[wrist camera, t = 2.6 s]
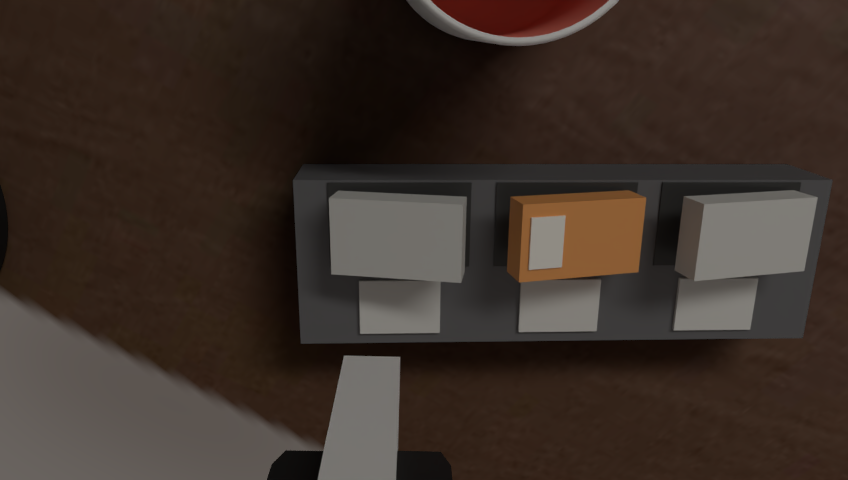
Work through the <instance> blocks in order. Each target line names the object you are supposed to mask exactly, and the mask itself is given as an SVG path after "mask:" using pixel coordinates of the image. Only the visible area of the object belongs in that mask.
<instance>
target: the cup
mask: <svg viewBox="0 0 848 480" xmlns="http://www.w3.org/2000/svg"><path fill="white" fill-rule="evenodd" d="M406 1H407V2H408V3H409V5H410V6H411V7H412V8H413V9H414V10H415V11H416V12H417V13H418V14H419V15H420V16H421V17H422V18H423V19H425V20H426V21H427V22H429V23H430V24H431V25H433V26H435V27H436V28H438V29H440V30H442V31H444V32H446V33H448V34H450V35H453V36H456V37H459V38H463V39H466V40H472V41H479V42H485V43H492V44H498V45H507V46H527V45H536V44H542V43H547V42H551V41H554V40H558V39H561V38H563V37H566V36H569V35H571V34H573V33H575V32H577V31H579V30H581V29H583V28H585V27H587V26H588V25H590V24H591V23H593V22H594V21H596V20H597V19H599V18H600V17H601V16H602V15H604V14H605V13H606V12H607V11H608V10H610V9H611V8H612V7H613V6H614V5H615V4H616V3H617V2H618V1H619V0H406Z"/></svg>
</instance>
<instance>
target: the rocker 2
mask: <svg viewBox="0 0 848 480" xmlns="http://www.w3.org/2000/svg"><path fill="white" fill-rule="evenodd" d="M645 206H646V197H644V196H641V195H639V194H637V193H634V192H632V191H629V190H625V191H606V192H588V193H569V194H550V195H532V196H513V197H510V216H509V237H508V258H507V272H508V273H509V274H510V275H511V276H512V277H513V278H515V279H516V280H517V281H518V282H519V283H520V282H531V281H543V280H554V279H566V278H577V277H589V276H600V275H612V274H623V273H635V272H638V271H639V261H640V252H641V243H642V234H643V224H644V215H645Z"/></svg>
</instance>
